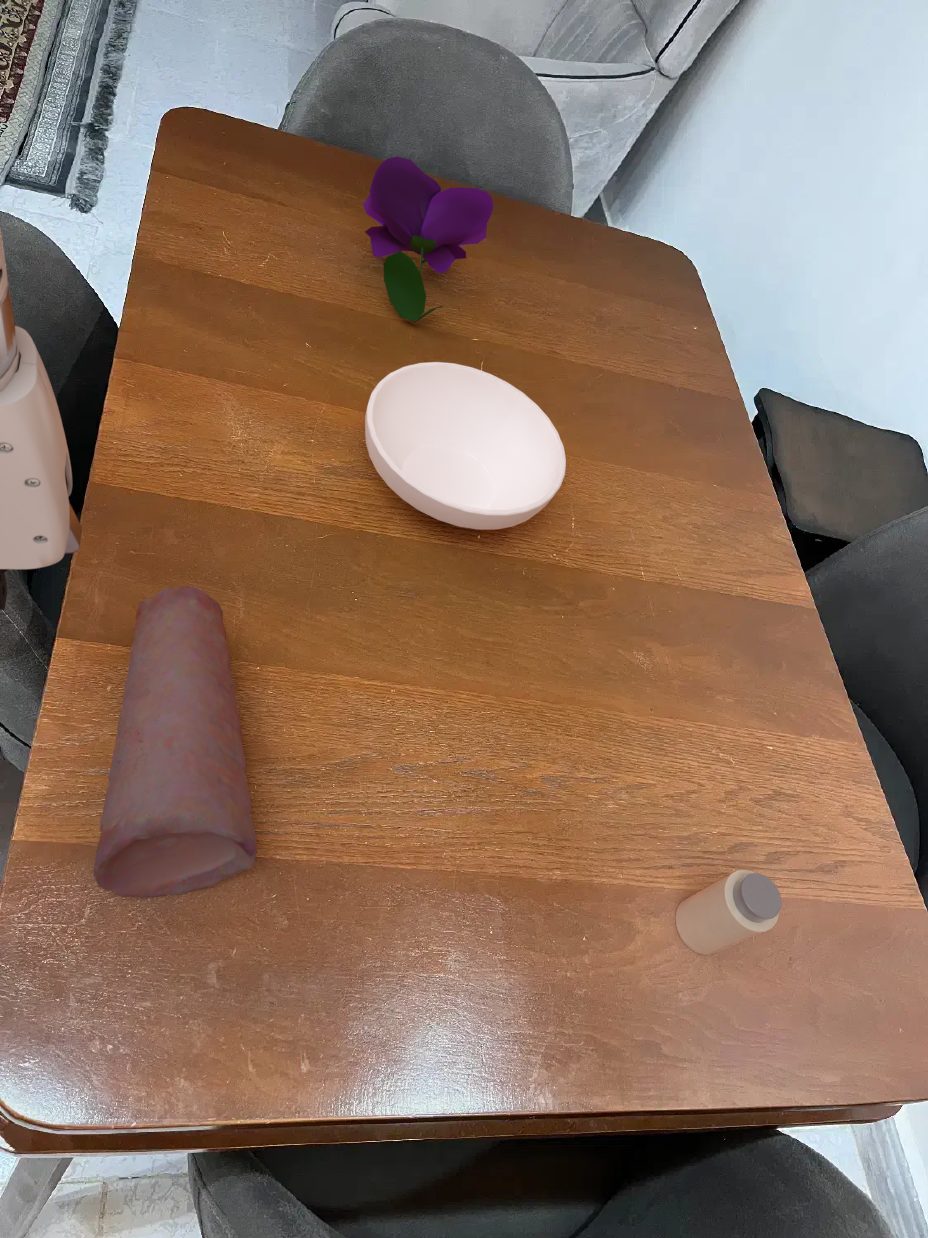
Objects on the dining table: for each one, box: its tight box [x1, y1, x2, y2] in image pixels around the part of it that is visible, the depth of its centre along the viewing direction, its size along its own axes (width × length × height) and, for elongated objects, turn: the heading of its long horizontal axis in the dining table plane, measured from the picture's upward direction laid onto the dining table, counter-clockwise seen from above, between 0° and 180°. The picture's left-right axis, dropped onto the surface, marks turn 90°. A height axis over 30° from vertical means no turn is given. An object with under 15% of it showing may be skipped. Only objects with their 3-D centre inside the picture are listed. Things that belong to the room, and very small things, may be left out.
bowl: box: [364, 361, 567, 531], centre depth 81 cm, size 20×20×7 cm
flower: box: [362, 156, 494, 324], centre depth 95 cm, size 15×15×14 cm
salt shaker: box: [674, 869, 783, 956], centre depth 62 cm, size 4×4×8 cm
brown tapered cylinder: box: [92, 585, 258, 899], centre depth 56 cm, size 21×9×9 cm, turn 14°
